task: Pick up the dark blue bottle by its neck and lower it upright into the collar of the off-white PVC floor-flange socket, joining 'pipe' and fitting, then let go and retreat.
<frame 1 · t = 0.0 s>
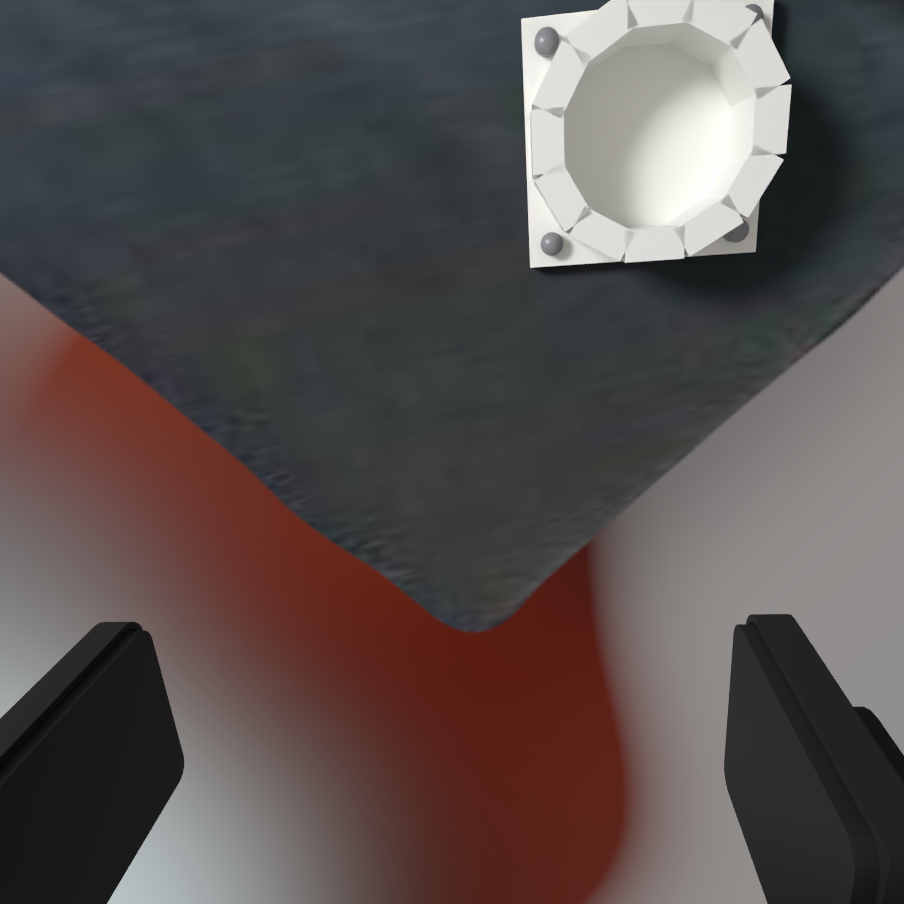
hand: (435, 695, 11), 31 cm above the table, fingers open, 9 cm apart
flange socket: (639, 141, 36), on the table
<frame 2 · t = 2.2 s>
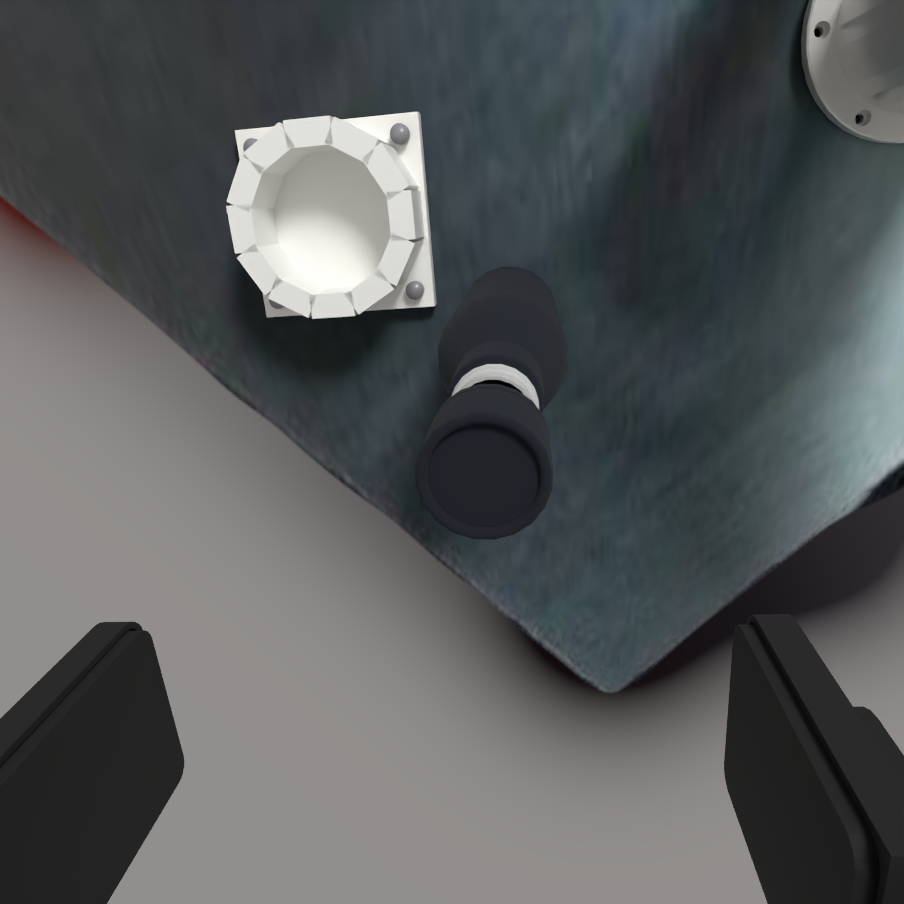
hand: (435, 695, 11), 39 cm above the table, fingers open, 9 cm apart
flange socket: (341, 220, 46), on the table
dark blue bottle: (509, 313, 47), on the table
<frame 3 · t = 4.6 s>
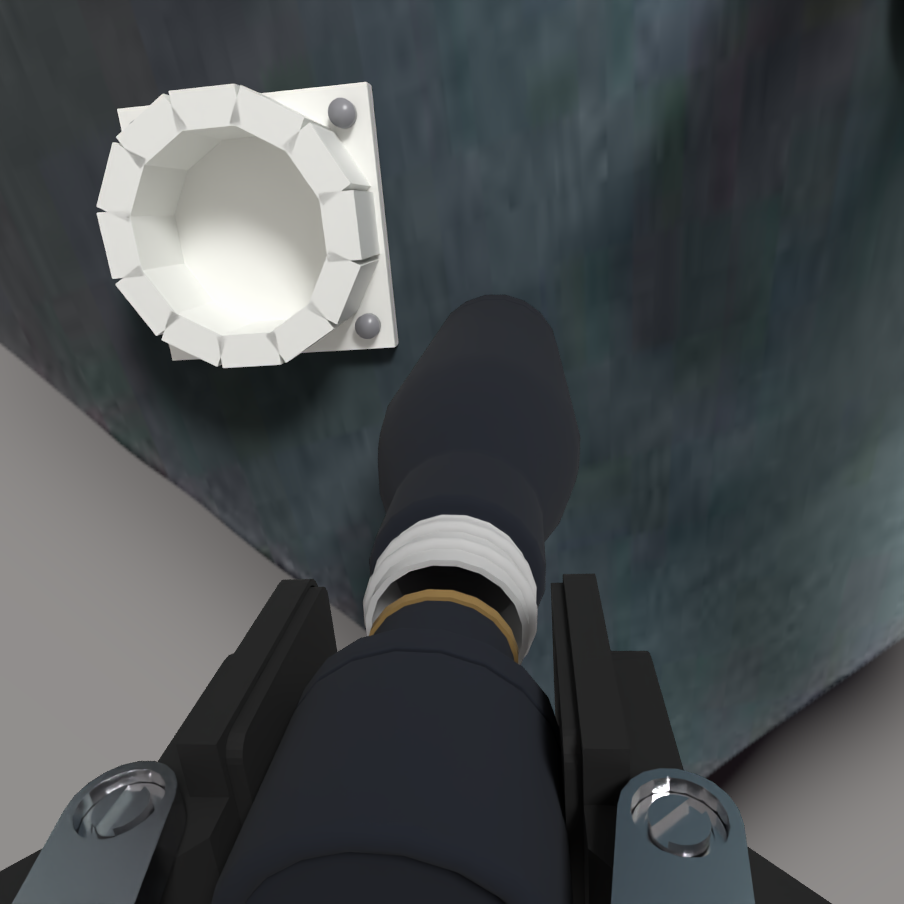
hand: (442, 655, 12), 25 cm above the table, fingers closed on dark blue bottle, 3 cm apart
flange socket: (268, 232, 34), on the table
dark blue bottle: (495, 356, 35), on the table, touching gripper
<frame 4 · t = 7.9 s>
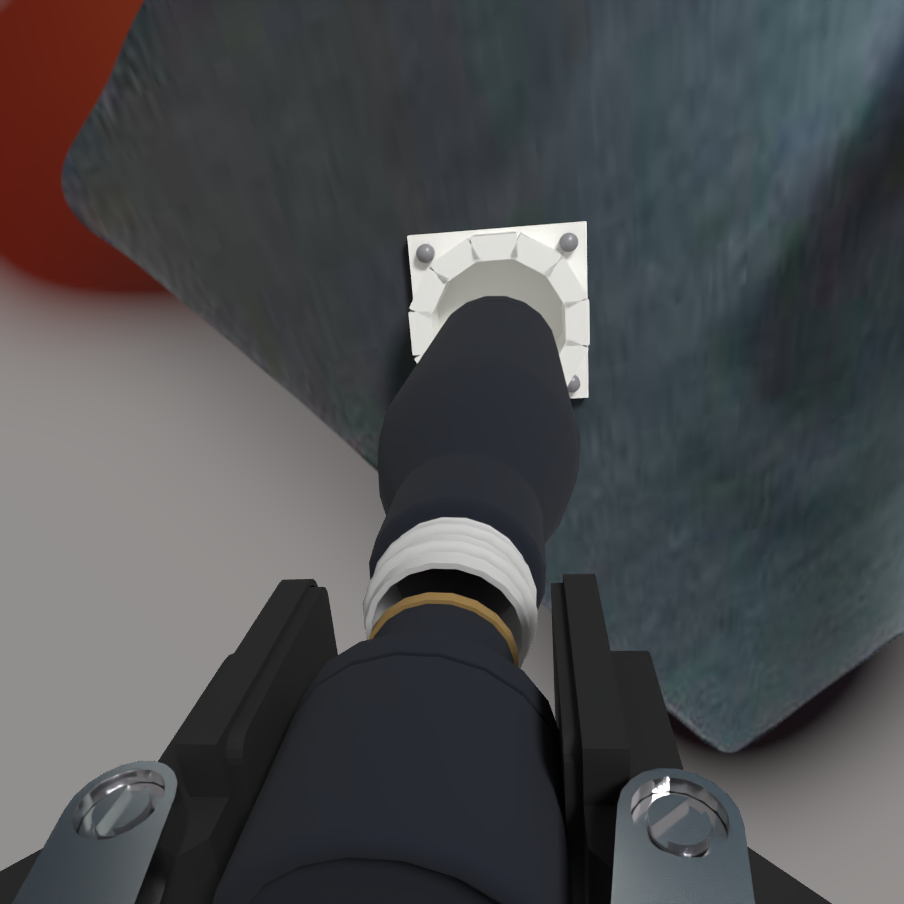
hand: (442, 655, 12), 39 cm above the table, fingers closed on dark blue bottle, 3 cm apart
flange socket: (500, 316, 48), on the table
dark blue bottle: (495, 357, 35), point 14 cm above the table, touching gripper
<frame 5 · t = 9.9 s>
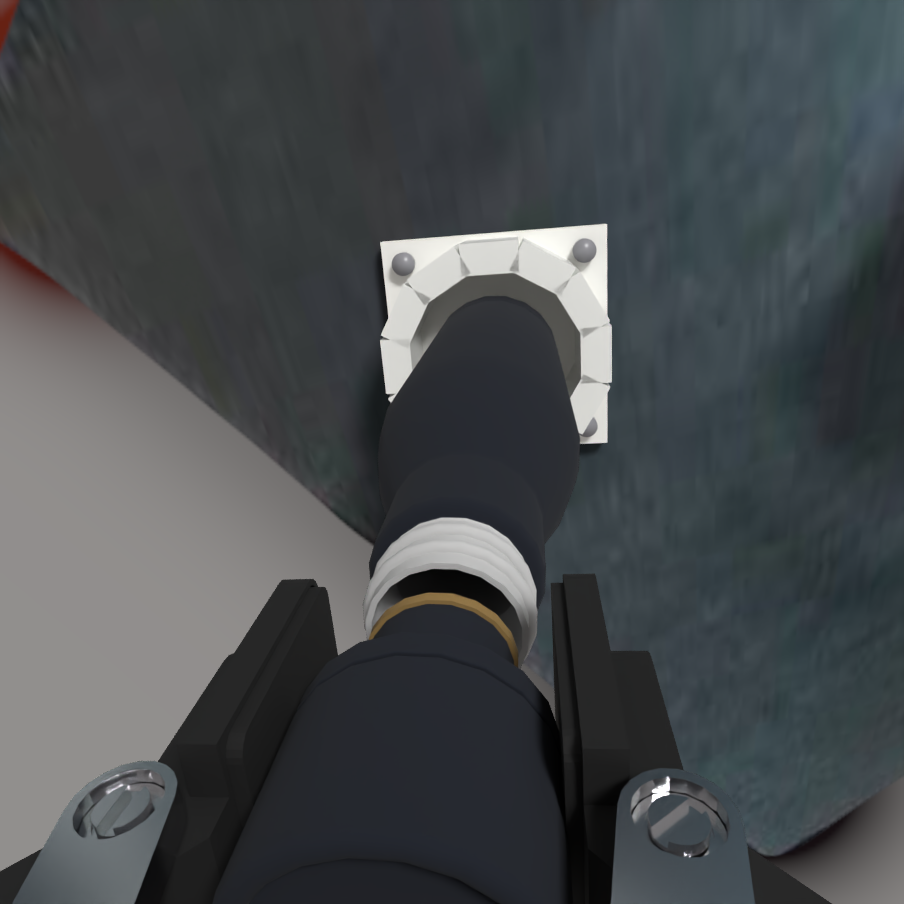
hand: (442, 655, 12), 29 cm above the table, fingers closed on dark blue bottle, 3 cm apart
flange socket: (498, 342, 38), on the table
dark blue bottle: (495, 357, 35), point 4 cm above the table, touching gripper
when the fingers open (26 cm above the table, at t = 11.4 s): dark blue bottle stays where it is, resting on flange socket.
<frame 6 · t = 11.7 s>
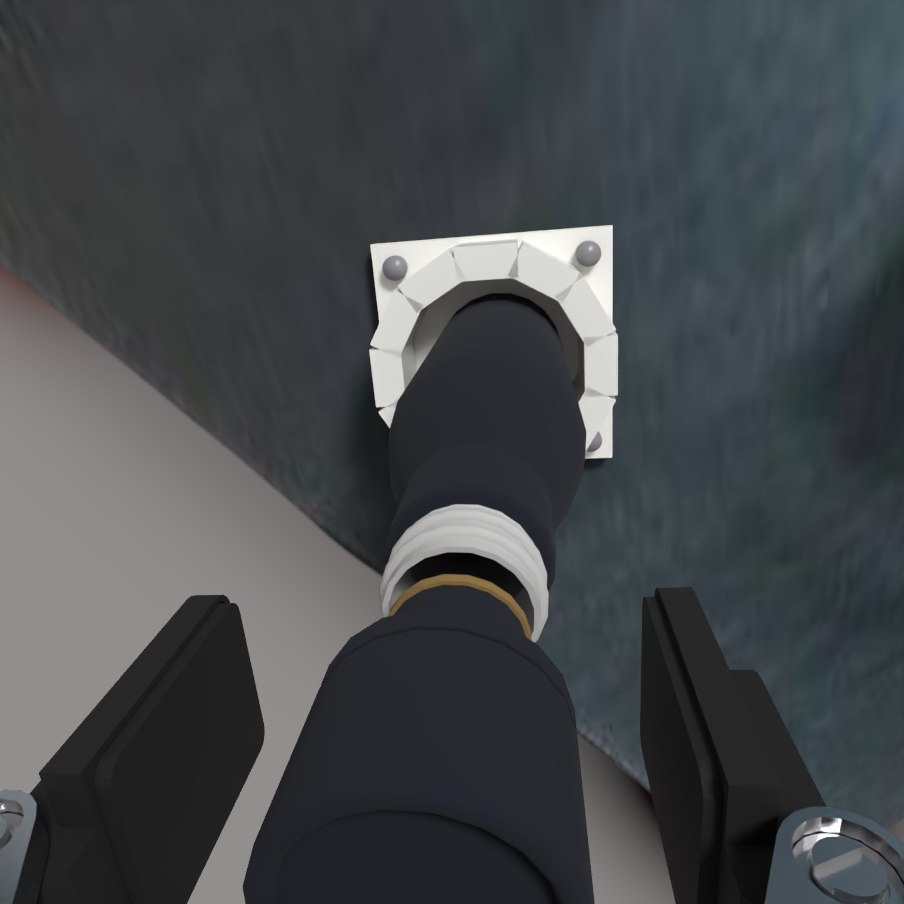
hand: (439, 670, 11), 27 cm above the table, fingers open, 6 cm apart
flange socket: (496, 351, 36), on the table
dark blue bottle: (500, 353, 35), point 1 cm above the table, touching flange socket
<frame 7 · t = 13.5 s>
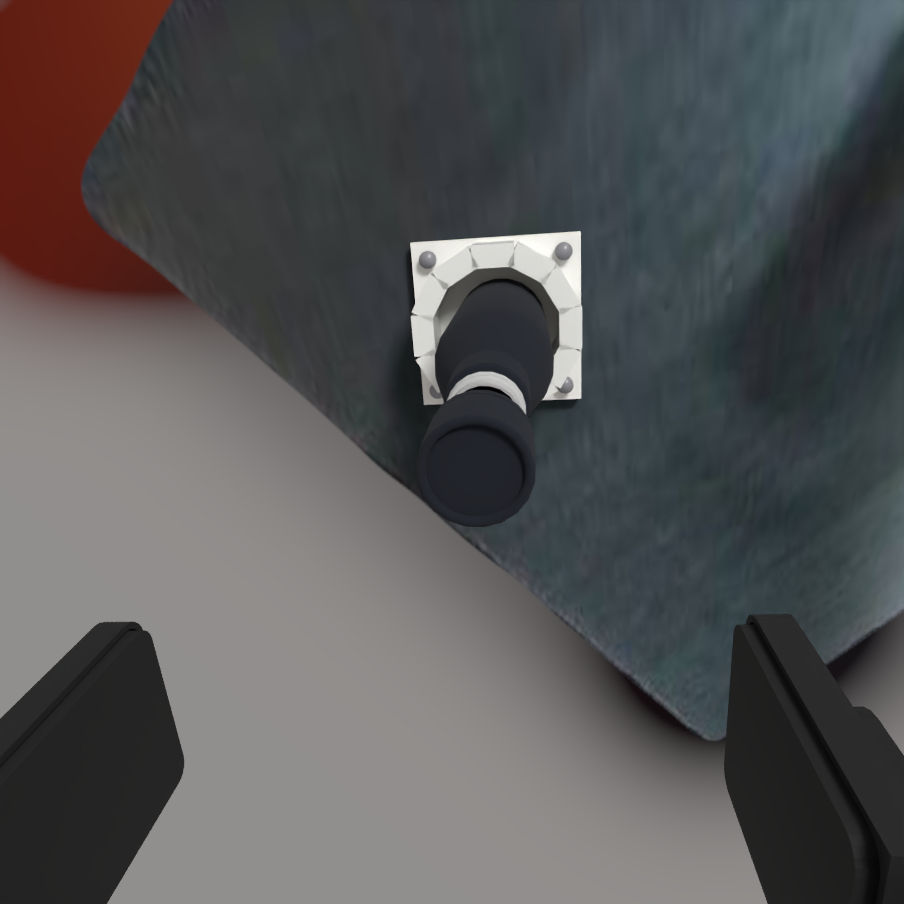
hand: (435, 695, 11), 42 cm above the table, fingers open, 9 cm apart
flange socket: (498, 320, 50), on the table
dark blue bottle: (501, 322, 49), point 1 cm above the table, touching flange socket
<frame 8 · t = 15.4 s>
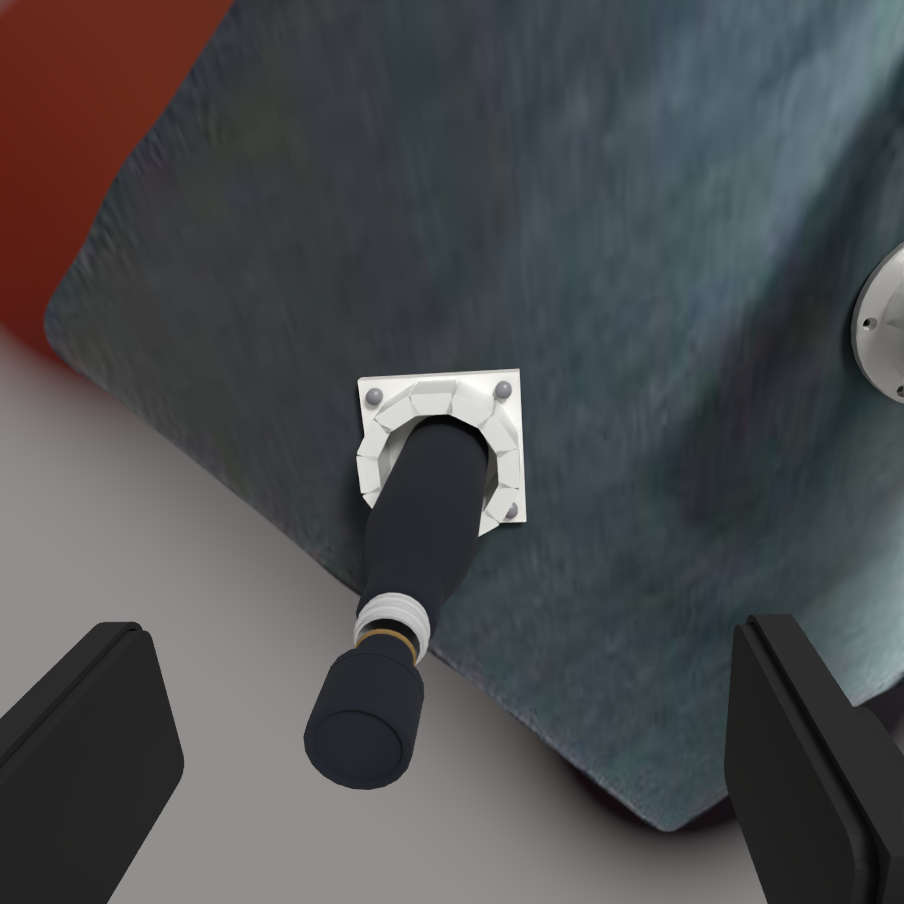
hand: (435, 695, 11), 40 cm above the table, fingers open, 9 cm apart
flange socket: (445, 448, 52), on the table
dark blue bottle: (447, 451, 52), point 1 cm above the table, touching flange socket
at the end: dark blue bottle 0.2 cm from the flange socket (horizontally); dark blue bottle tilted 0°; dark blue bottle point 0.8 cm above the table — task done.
